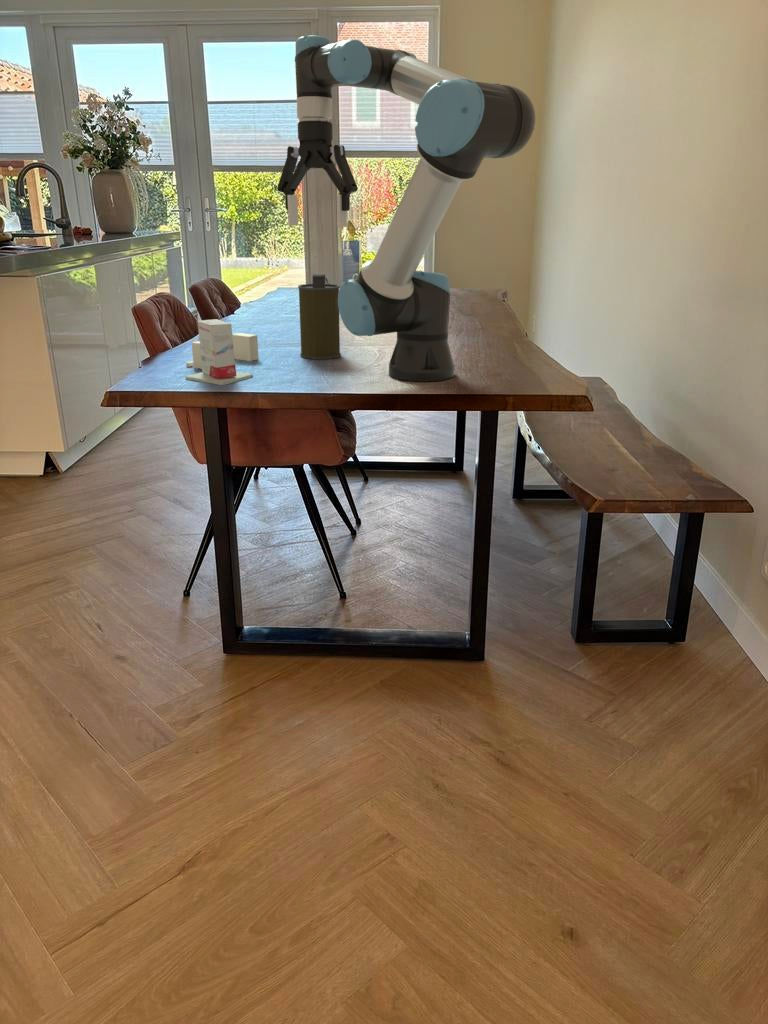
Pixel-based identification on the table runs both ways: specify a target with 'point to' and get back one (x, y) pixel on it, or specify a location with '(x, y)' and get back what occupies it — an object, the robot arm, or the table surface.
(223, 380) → the mat
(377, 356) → the table surface
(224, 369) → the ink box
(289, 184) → the robot arm
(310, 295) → the canister
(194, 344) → the holder
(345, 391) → the table surface
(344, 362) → the table surface
